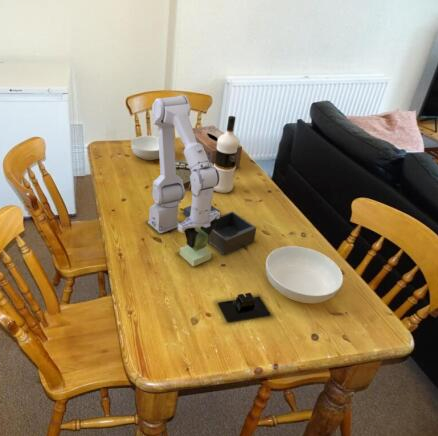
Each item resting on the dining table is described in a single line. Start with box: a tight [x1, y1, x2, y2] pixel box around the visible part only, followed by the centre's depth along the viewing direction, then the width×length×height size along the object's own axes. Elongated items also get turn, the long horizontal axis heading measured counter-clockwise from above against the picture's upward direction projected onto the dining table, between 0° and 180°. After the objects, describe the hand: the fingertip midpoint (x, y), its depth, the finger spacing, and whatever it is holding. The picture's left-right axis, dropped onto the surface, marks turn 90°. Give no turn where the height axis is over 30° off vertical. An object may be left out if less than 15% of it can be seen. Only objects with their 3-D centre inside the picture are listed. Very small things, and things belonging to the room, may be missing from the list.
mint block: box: [179, 244, 212, 267], centre depth 128 cm, size 7×7×2 cm
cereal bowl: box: [130, 135, 160, 161], centre depth 186 cm, size 17×17×7 cm
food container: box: [175, 159, 192, 191], centre depth 164 cm, size 12×6×10 cm, turn 84°
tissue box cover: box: [183, 125, 243, 169], centre depth 187 cm, size 26×14×10 cm, turn 21°
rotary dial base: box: [182, 205, 220, 218], centre depth 149 cm, size 10×9×3 cm
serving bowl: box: [265, 245, 344, 304], centre depth 117 cm, size 21×21×7 cm
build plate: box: [217, 292, 271, 324], centre depth 110 cm, size 12×7×5 cm, turn 104°
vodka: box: [213, 115, 241, 194], centre depth 158 cm, size 9×9×30 cm
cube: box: [185, 227, 208, 251], centre depth 125 cm, size 4×4×4 cm
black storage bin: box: [207, 211, 257, 256], centre depth 136 cm, size 13×11×6 cm
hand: (196, 243), depth 126 cm, fingers closed on cube, 4 cm apart
